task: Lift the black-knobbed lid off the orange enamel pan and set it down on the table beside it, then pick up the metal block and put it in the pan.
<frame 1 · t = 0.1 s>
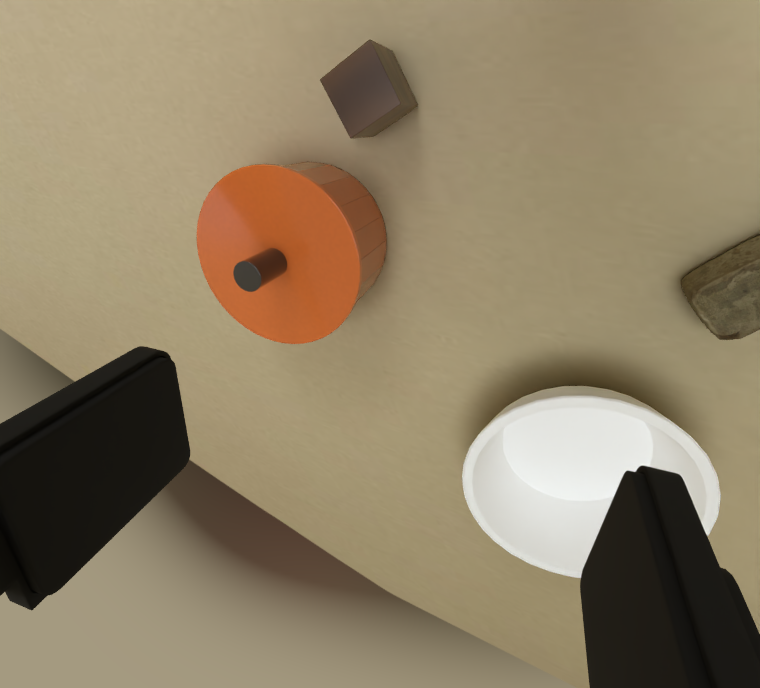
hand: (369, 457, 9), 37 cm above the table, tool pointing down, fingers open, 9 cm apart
stone block: (758, 265, 37), on the table
bowl: (573, 442, 50), on the table
metal block: (382, 95, 40), on the table
pan lid: (277, 260, 40), point 9 cm above the table, touching pan
pan: (319, 238, 48), on the table
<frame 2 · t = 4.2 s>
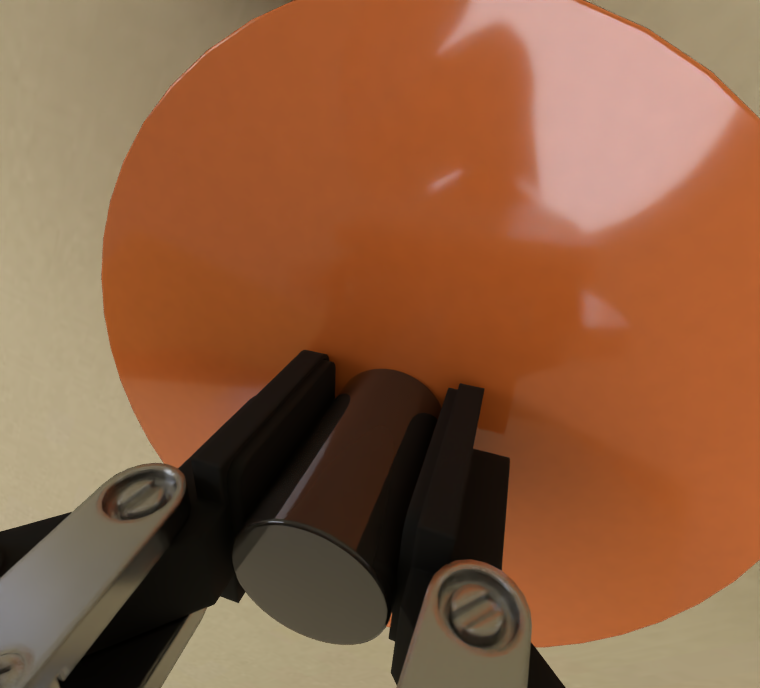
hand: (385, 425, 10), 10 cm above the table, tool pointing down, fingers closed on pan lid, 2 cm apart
pan lid: (397, 402, 11), point 9 cm above the table, touching gripper, pan
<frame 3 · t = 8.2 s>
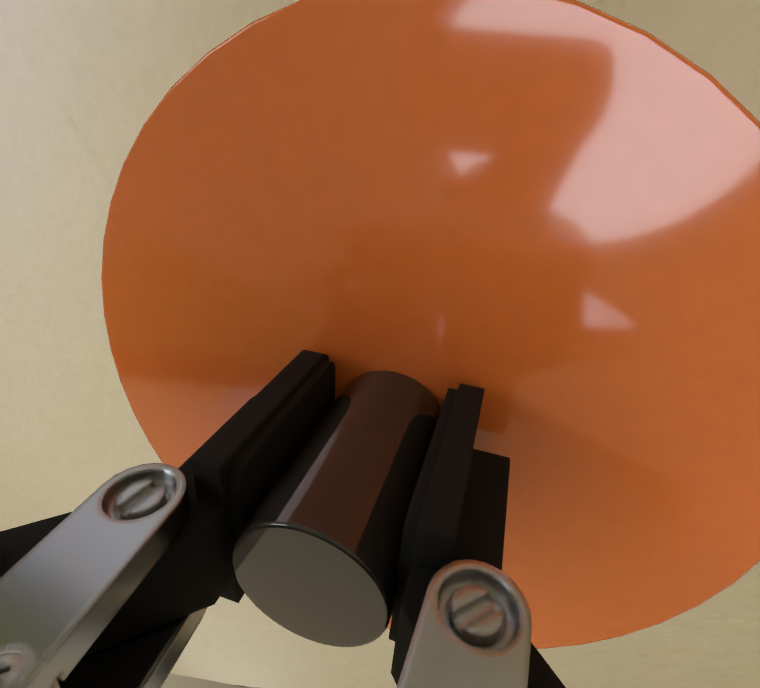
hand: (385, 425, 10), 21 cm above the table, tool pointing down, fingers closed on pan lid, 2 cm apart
pan lid: (397, 404, 11), point 20 cm above the table, touching gripper
when the fingers open (2 cm above the table, at t = 12.5 s): pan lid stays where it is, point 1 cm above the table.
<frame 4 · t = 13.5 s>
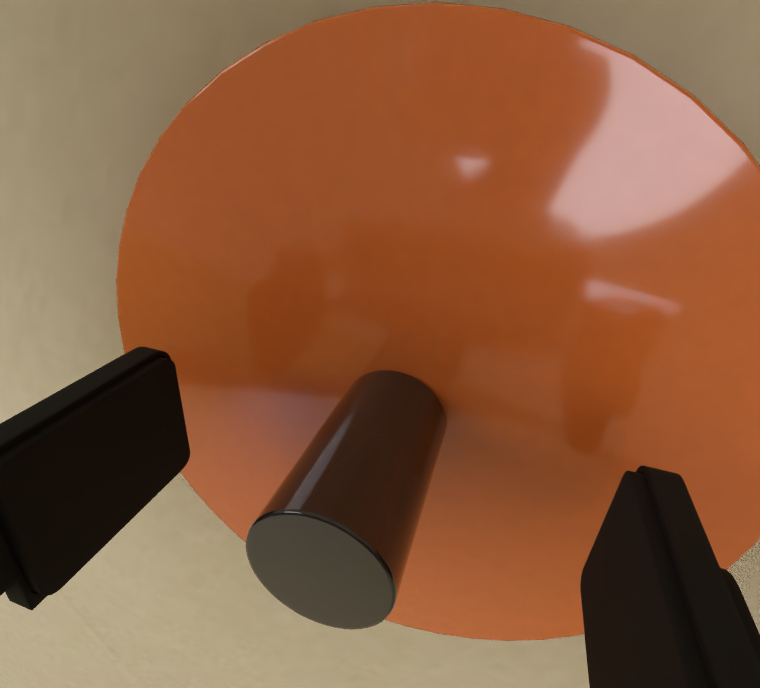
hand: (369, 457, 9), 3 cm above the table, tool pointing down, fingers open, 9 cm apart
pan lid: (400, 402, 11), point 1 cm above the table
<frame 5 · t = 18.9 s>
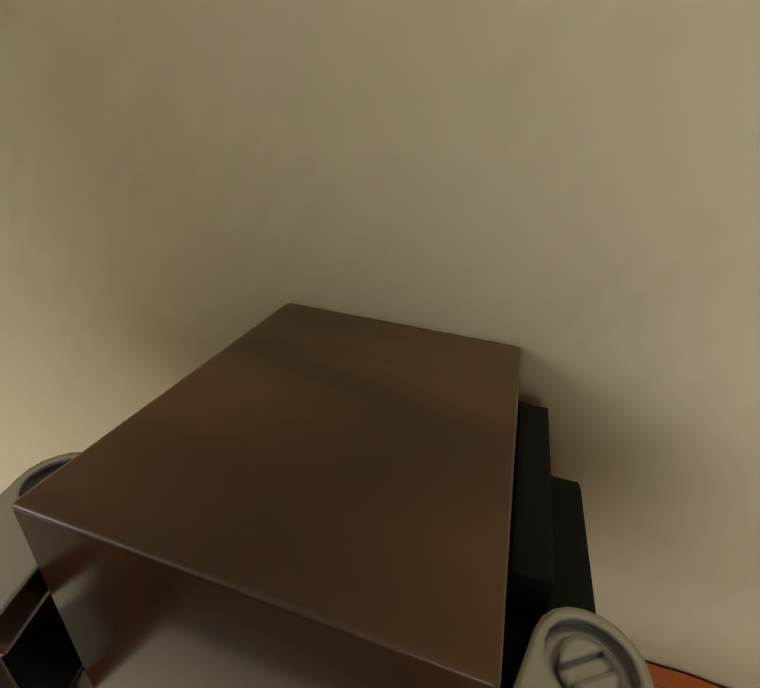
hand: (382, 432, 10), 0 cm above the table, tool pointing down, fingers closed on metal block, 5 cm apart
metal block: (387, 420, 10), on the table, touching gripper
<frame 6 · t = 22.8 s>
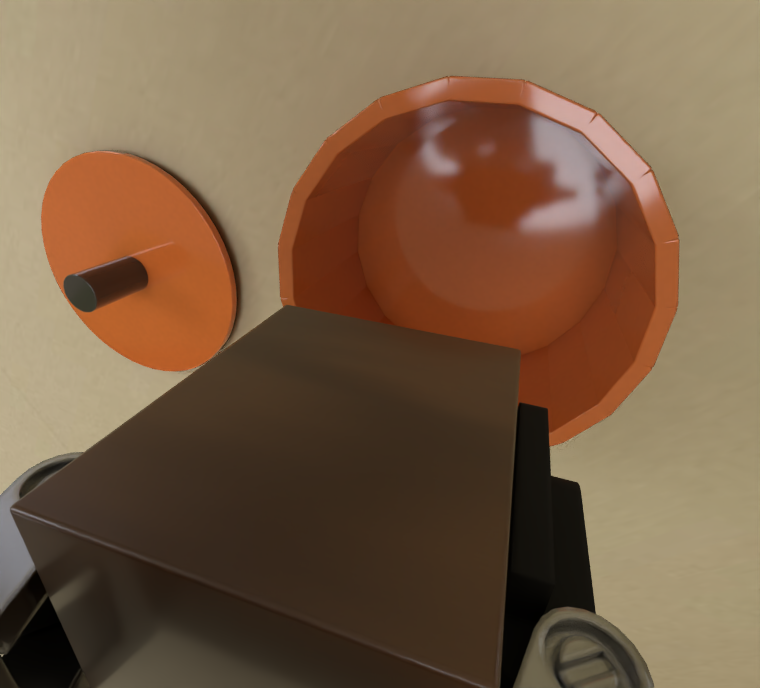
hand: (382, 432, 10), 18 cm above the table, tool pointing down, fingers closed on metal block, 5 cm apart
metal block: (387, 422, 10), point 18 cm above the table, touching gripper
pan lid: (139, 270, 33), point 1 cm above the table
pan: (477, 247, 25), on the table
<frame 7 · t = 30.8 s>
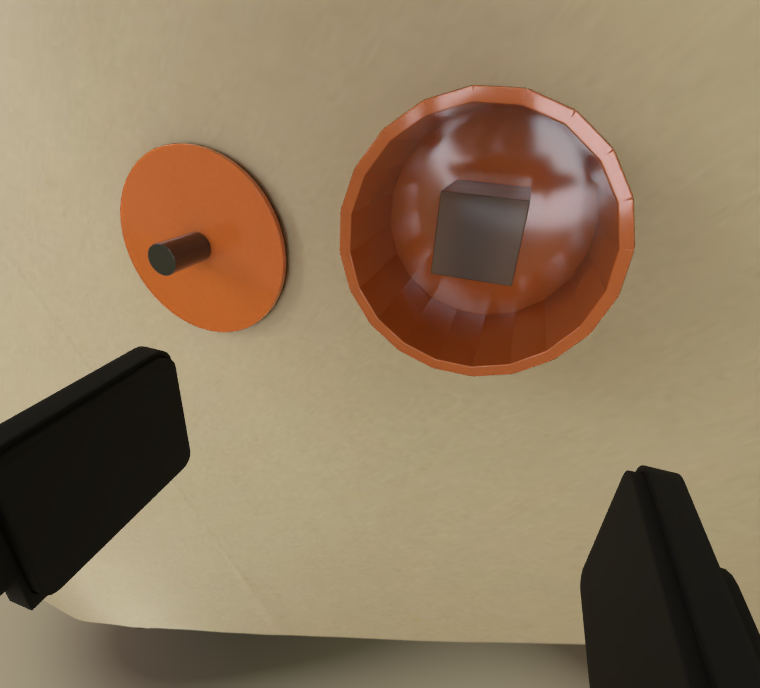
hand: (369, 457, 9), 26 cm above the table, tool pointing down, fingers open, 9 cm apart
metal block: (486, 220, 31), resting on pan
pan lid: (203, 244, 39), point 1 cm above the table
pan: (487, 219, 32), on the table
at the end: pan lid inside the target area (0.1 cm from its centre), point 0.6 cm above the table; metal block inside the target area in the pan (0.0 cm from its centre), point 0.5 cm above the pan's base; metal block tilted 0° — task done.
